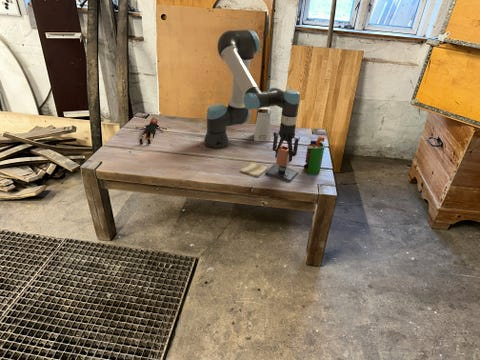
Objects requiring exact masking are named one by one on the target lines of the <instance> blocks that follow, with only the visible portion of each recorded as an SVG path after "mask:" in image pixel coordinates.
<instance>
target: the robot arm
mask: <svg viewBox="0 0 480 360" xmlns="http://www.w3.org/2000/svg"><path fill="white" fill-rule="evenodd" d="M260 43H261V42H260V38H259V36H258V34H257V33H256V31H254V30H248V29H242V30H241V29H239V30H227V31H224V32H223V33H222V34H221V35H220V36H219V38H218V41H217V47H216V48H217V49H216V50H217V53H218V55H219V57H220V59H221V61H223V62H225V64H226V65H227V67H228V70H229V71H230V72H231V74H232V76H233V78H232V88H231V98H230V100H228V102H227V103H228V104H227V106H226V105H225V104H213V105H211V106H209V107H208V108H207V111H206V134H205V136H204V138H203V139H204V142H203V144H204V146H205V147H207V148H208V149H214V150H215V149H216V150H217V149H218V150H221V149H224V148H227V147H228V146H229V145H230V141H229V137H228V133H227V128H228V127H233V126H238V125H243V124H246V123H248V122H249V119H250V118H251V111H250V110H259V108H264V107H268V108H271V107H277V108H278V107H279V108H281V109H282V110H281V116H280V124H279V125H280V126H279V130H278V131H277V130H276V131H274V132H273V133H272V134H273V140H272V141H273V144H272V151H274V152H275V154H274V155H275V156H274V157H275V159H276V160H275V164H276V163H277V155H278V149H279V148H280V147H281V146H282V145H283V143H284V142H286V143H287V147H288V150H289V155H288V157H287V164H286V168H289V167H290V163H291V162H292V160H293V157H296V156H297V154H298V147H299V141H300V140H301V137H300V136H297V135H296V127H297V121H298V120H297V119H298V114H299V113H298V112H299V107H300V102H301V93H300V92H299V90H294V89H285V91H284V90H282V89H280V88H278V87H270V88H269V89H268V90H264V91H261V89H260V88H259V87H258V85H257V83H256V81H255V80H254V78H253V76H252V75H251V73H250V66H251V61H252V60H253V59H255V54H257V53H258V52H259V51H260V48H261V47H260V46H261V44H260ZM279 137H280V139H279ZM278 139H279V140H278ZM293 139H294V143H293ZM278 141H279V142H278ZM276 165H277V164H276Z"/></svg>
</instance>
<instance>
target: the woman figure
mask: <svg viewBox="0 0 480 360" xmlns="http://www.w3.org/2000/svg"><path fill="white" fill-rule="evenodd" d="M157 123H159V120H158V119H157V118H156V117H152V118H151V119H150V122H149V123H148V124H147V125H145V126H140V127H139V126H135V127H134V129H135V130H138V129H139V128H144V127H147V128H144V129H145V130H143V133H142V138H140V139H139V143H140V145H141V144H142V145H143V143H144V142H145V140H146V138H147V136H148V134H150V135H149V138H148V139H147V144H150V145H151V143H152V141H153V138H154V136H153V135H155V136H156V132H157V130H156V129H157V128H156V127H159V126H160V125H159V124H157ZM160 128H162V129H161V130H167V127H166V126H165V127H163V126H162V127H161V126H160V127H159V128H158V129H160ZM149 132H150V133H149ZM143 135H144V136H143Z"/></svg>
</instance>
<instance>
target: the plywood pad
mask: <svg viewBox="0 0 480 360" xmlns="http://www.w3.org/2000/svg"><path fill="white" fill-rule="evenodd" d="M268 169H269V167H267V166H265V165H262V164H258V163H256V162H252V161H249V162H248V163H247V164H246V165H244V166H243V167H242V168H240V170H239V172H241V173H244V174H247V175H250V176H252V177H255V178H260V177H261V176H262V175H263V174H265V172H266V171H267V170H268Z"/></svg>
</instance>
